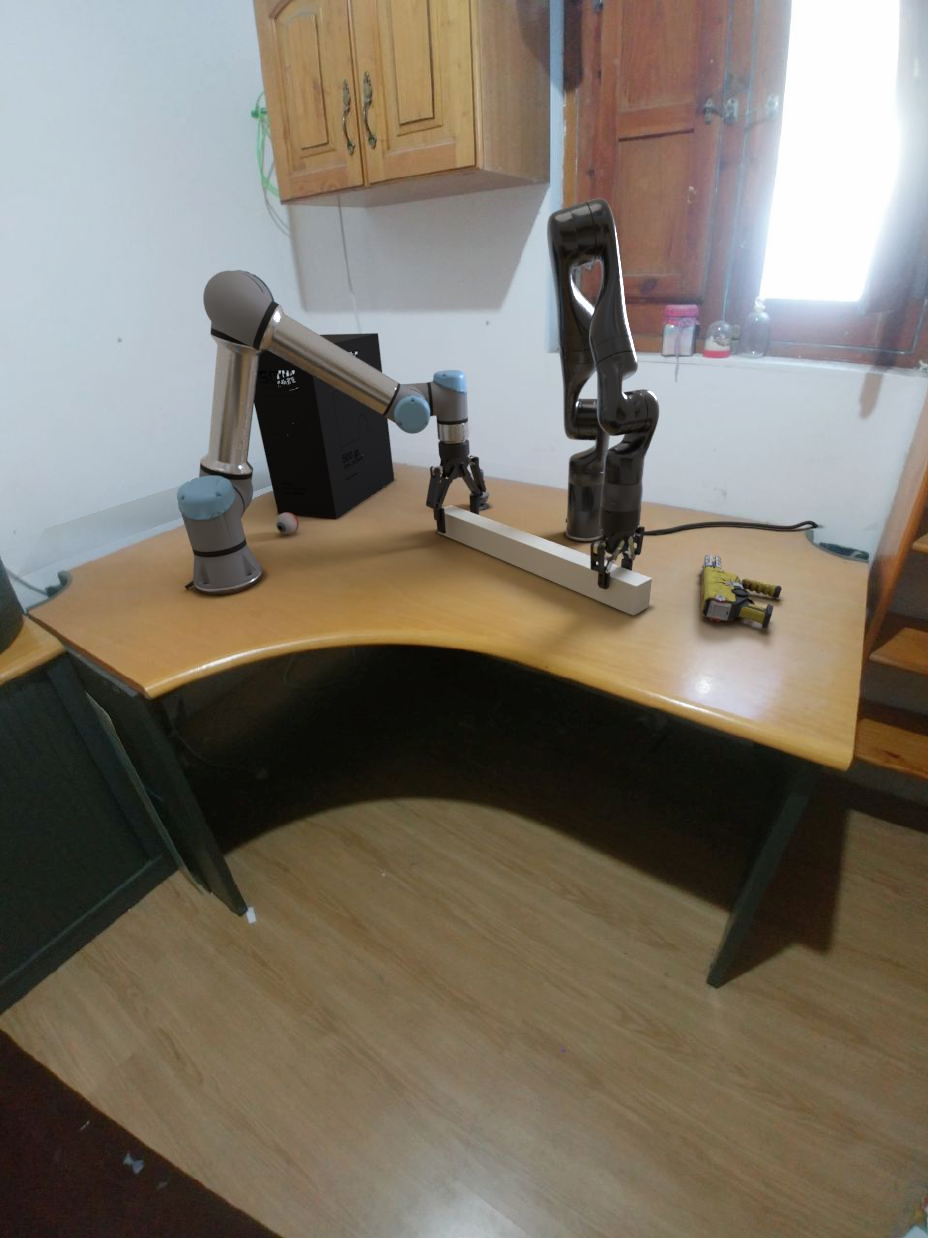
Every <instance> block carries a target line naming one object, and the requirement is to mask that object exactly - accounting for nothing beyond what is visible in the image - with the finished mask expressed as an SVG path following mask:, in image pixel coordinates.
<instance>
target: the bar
mask: <svg viewBox="0 0 928 1238" xmlns="http://www.w3.org/2000/svg"><path fill="white" fill-rule="evenodd" d="M442 508H444V512H445V526H446V533H444V534H443V533H441V532H438V531H437V533H438V534H440V535H442V536H445V537H446V538H450V539H452V540H455V541H456V542H459V543H461V544H463V545H465V546H468V547H470V548H473V549H475V550H477V551H479V552H482V553H484V554H487V555H489V556H492V557H494V558H496V559H498V560H501V561H503V562H506V563H508V564H510V565H513V566H515V567H518V568H520V569H522V570H524V571H527V572H530V573H531V574H534V575H536V576H539V577H540V578H544V579H546V580H548V581H551V582H553V583H555V584H558V585H560V586H562V587H565V588H566V589H569V590H572V591H574V592H576V593H579V594H581V595H583V596H586V597H587V598H590V599H592V600H595V601H598V602H599V603H602V604H605V605H607V606H610V607H612V608H614V609H617V610H619V611H621V612H624V613H626V614H628V615H630V616H635V615H637V614H639V613H641V612H643V611H645V610H646V609H648V608H649V607H650V600H651V592H652V591H651V589H652V581H653V578H652V577H650V576H647V575H644V574H642V573H639V572H637V571H633V570H632V571H631V570H628V569H625V568H623V567H621V565H618V564H615V563H613V564H612V566H611V569H610V581H609V588H608V589H606V590H605V589H602V588H600V587H599V586H598V572H597V571H594V570H591V564H590V555H589V554H588V553H584V552H581V551H579V550H575V549H573V548H571V547H567V546H565V545H563V544H560V543H557V542H554V541H551V540H549V539H546V538H543V537H540V536H537V535H534V534H532V533H529V532H526V531H523V530H522V529H518V528H515V527H512V526H511V525H507V524H504V523H502V522H499V521H496V520H493V519H491V518H488V517H485V516H483V515H480V514H479V515H477V514H474V513H471V512H470V510H466V509H463V508H460V507H457V506H455V505H452V504H450V505H445V506H444V507H443V506H442ZM607 562H608V561H607V560H605V561H604V566H606V564H607ZM596 564H598V562H596Z"/></svg>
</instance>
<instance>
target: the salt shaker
mask: <svg viewBox="0 0 928 1238" xmlns="http://www.w3.org/2000/svg"><path fill="white" fill-rule="evenodd" d="M480 470H481V473H482V477H483V480H484V483H485V484H486V481H485V473H484V470H483V469H481V468H480ZM490 494H491V493H489V492H488V491H486V492H483V496H482V497H480V507H479V510H486V509H488V508H489V507H490V505H489V504H488V503H487V502H488V500H489V497H490ZM470 495H473V494H472V493H471V492H470V493H469V496H470Z"/></svg>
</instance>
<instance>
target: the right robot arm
mask: <svg viewBox="0 0 928 1238" xmlns="http://www.w3.org/2000/svg"><path fill="white" fill-rule="evenodd" d="M546 226H547V227H546V238H547V239H546V240H547V247H548V255H549V262H550V268H551V274H552V282H553V289H554V295H555V296H554V297H555V305H556V322H557V342H558V353H559V354H558V355H559V358H560V359H559V360H560V369H561V379H562V403H563V404H562V405H563V406H562V407H563V408H562V409H563V412H562V413H563V414H562V415H563V429H564V434H565V436H566V438H567V439H569V440H572V441H588V442H589V441H593V442H595V444H593V446H591V447H589V448H587V449H585V450H582V451H579V452H576V453H574V454H572V455H571V456H570V457H569V459H568V468H567V469H568V473H567V501H566V502H567V503H566V518H565V523H566V527H565V536H566V537H567V538H568V539H570V540H572V541H576V542H583V543H584V542H586V543H587V542H591V543H590V547H589V548H590V549H589V550H590V564H591V570H594V571H597V572H598V586H599V587H600V588H602V589H605V590H606V589H608V588H609V581H610V569H611V566H612V564H615V563H616V562H617V560H618V558H619V555H621V561H620V567H623V568H625V569H628V570H631V571H633V564H634V561H635V559H636V557H637V556H640V555H641V554H642V549H643V543H644V536H648V535H649V536H651V535H657V534H665V533H672V532H677V531H680V530H685V529H690V528H697V527H707V526H738V527H739V526H740V527H753V528H761V529H762V528H763V529H770V530H783V531H785V530H787V531H788V530H789V531H791V530H795V529H798V528H802V527H804V526H807V525H810V526H812V527H813V528H819V525H818V524H817V523H816V522H815V521H813V520H804V521H801V522H799V523H796V524H793V525H777V524H776V525H775V524H768V523H759V522H749V521H748V522H747V521H729V520H728V521H727V520H720V521H702V522H701V521H700V522H693V523H686V524H681V525H677V526H672V527H669V528H661V529H652V530H646V528H645V526H642V525H641V524H640V523H641V517H642V516H641V514H642V504H643V497H644V496H643V495H644V489H643V488H644V486H643V481H644V480H643V479H644V469H645V461H646V460H645V459H646V456H647V453H648V451H649V449H650V446H651V443H652V440H653V437H654V435H655V432H656V429H657V426H658V423H659V418H660V405H659V401H658V398H657V396H656V395H655V393H654V392H653V391H651V390H649V389H644V388H643V389H641V388H640V389H635V390H629V391H628V390H627V391H624V390H623V382H624V381H626V380H628V379H629V378H631V377H633V376H634V375H635V374H636V373H637V371H638V368H639V363H638V357H637V353H636V348H635V345H634V341H633V337H632V333H631V329H630V326H629V325H630V324H629V320H628V315H627V314H628V313H627V308H626V300H625V291H624V281H623V272H622V265H621V258H620V257H621V256H620V248H619V242H618V234H617V228H616V223H615V217H614V214H613V211H612V208H611V205H610V204H609V202H608V201H607V200H606V199H605V198H604V197H596V198H591V199H589V200H586V201H585V200H584V201H582V202H579V203H576V204H572V205H569V206H567V207H564V208H561V209H558V210H556V211H554V212H552V213H551V214H550V215H549V217H548V220H547V225H546ZM596 262H597V263H598V262H599V264H600V271H601V280H600V281H601V282H600V288H599V291H598V295H597V298H596V303H595V305H593V304H592V303H591V302H590V301H589V300H588V299H587V298H586V297H585V296H584V294H583V293H582V292H581V290H580V289H579V288H578V286H577V285H576V283H575V282H574V279H573V276H572V272H573V271H574V270H575V269H577V268H580V267H581V268H582V267H583V266H587V265H590V264H593V263H596ZM595 373H596V379H597V380H596V387H597V388H596V391H597V392H596V398H580V395H581V392H582V391H583V389H584V387H585V385H586V384H587V383H588V382H589V380H590V379H591V378H592V377H593V375H594V374H595ZM619 436H623V438H622V440H621V441H619V443H616V444H615V445H613V446H612V447H610V439H611V437H619ZM609 447H610V448H609ZM645 530H646V531H645ZM599 540H600V541H599ZM595 541H597V542H595ZM635 544H636V547H635ZM606 554H608V555H611V556H608V555H606ZM604 561H606V562H607V564H606V566H604ZM596 562H598V564H596Z"/></svg>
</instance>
